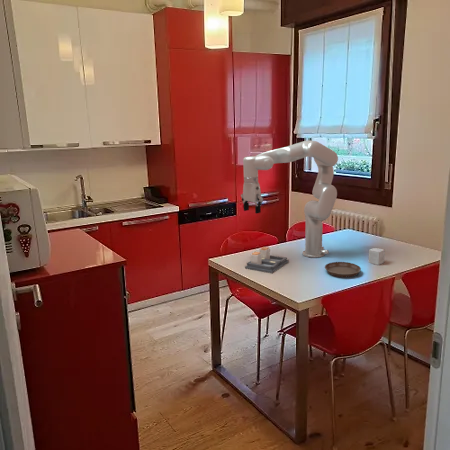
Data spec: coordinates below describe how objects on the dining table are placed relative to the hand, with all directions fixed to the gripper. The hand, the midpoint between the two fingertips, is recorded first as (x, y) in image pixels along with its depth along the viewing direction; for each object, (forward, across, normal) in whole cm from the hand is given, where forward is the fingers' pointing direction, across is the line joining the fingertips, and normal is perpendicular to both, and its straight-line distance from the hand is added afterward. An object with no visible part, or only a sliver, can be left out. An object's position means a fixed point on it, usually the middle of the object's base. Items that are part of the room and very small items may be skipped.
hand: (252, 211), depth 233 cm
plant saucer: (+30, -42, -24) cm, 57 cm away
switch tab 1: (+27, -6, +3) cm, 28 cm away
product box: (+30, -44, -49) cm, 73 cm away
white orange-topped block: (+28, -3, -6) cm, 28 cm away
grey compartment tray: (+29, -8, -3) cm, 30 cm away
